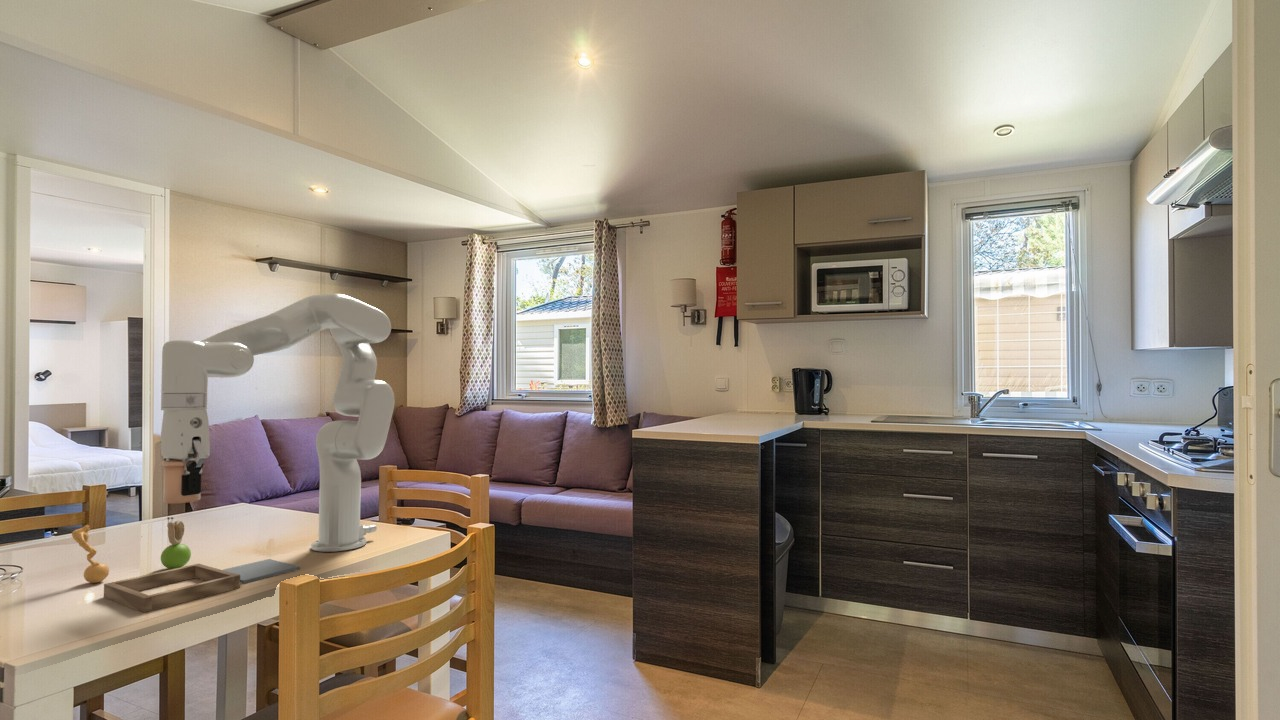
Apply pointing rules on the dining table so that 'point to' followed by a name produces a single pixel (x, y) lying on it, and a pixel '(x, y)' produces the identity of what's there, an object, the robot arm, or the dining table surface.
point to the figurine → (95, 570)
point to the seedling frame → (130, 596)
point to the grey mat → (261, 570)
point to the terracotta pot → (175, 483)
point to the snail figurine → (175, 547)
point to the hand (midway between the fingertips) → (182, 492)
